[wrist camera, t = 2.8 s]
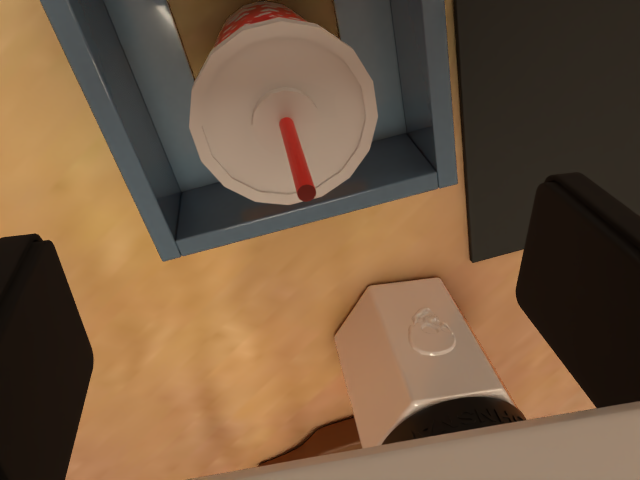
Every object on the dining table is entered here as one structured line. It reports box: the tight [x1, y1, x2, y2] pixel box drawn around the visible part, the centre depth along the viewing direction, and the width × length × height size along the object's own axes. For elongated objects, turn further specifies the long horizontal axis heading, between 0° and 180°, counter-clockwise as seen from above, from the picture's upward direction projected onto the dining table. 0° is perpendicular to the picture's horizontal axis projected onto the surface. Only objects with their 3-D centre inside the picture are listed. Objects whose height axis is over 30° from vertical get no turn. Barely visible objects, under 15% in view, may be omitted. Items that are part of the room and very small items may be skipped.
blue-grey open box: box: [40, 0, 458, 261], centre depth 23 cm, size 14×13×5 cm
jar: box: [334, 278, 526, 448], centre depth 30 cm, size 9×8×12 cm
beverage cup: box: [189, 1, 378, 205], centre depth 19 cm, size 6×6×14 cm
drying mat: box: [453, 0, 640, 263], centre depth 28 cm, size 14×20×1 cm
